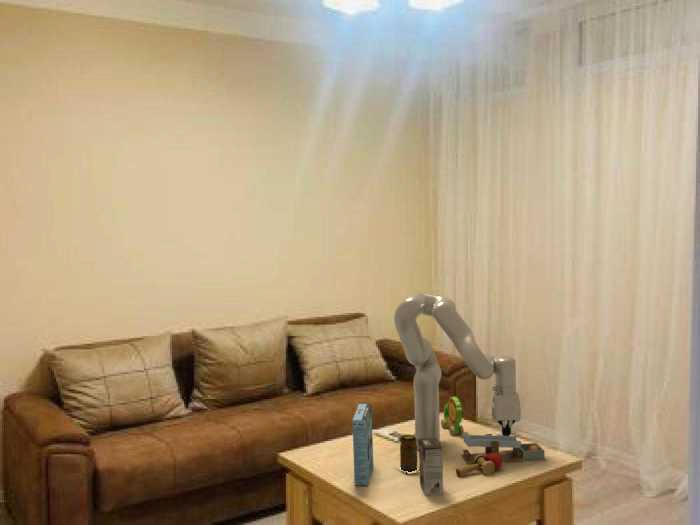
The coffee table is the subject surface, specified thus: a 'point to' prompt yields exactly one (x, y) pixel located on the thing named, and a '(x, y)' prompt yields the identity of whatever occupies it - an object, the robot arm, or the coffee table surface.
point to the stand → (506, 456)
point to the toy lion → (453, 416)
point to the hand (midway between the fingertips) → (506, 436)
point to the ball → (533, 447)
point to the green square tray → (531, 452)
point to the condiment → (408, 453)
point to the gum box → (362, 444)
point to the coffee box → (431, 466)
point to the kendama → (482, 464)
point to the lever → (487, 440)
